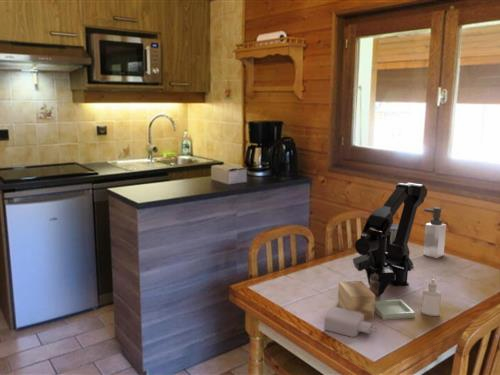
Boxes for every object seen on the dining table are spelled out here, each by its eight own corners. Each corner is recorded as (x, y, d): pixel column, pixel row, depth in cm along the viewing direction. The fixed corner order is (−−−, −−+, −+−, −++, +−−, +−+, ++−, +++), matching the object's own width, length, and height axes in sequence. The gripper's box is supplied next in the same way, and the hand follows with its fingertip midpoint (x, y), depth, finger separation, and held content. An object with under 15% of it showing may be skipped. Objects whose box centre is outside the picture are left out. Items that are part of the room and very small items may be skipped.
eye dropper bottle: (434, 318, 149) (437, 283, 146) (418, 312, 153) (421, 278, 151) (441, 314, 151) (444, 280, 149) (426, 308, 156) (428, 275, 153)
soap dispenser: (425, 250, 215) (428, 204, 211) (443, 255, 209) (447, 208, 205) (418, 253, 211) (422, 206, 207) (436, 258, 205) (441, 210, 200)
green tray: (400, 304, 159) (400, 299, 159) (414, 317, 149) (415, 312, 149) (370, 305, 158) (370, 301, 157) (382, 319, 148) (382, 314, 148)
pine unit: (359, 301, 161) (360, 280, 159) (373, 318, 148) (375, 295, 147) (337, 303, 159) (338, 281, 158) (350, 320, 147) (351, 296, 146)
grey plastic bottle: (372, 344, 133) (324, 331, 141) (381, 330, 141) (334, 318, 149) (373, 329, 132) (324, 316, 140) (382, 316, 140) (335, 305, 148)
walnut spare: (377, 291, 169) (379, 273, 168) (382, 296, 165) (383, 277, 164) (367, 292, 169) (368, 274, 167) (371, 296, 165) (372, 278, 163)
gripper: (346, 241, 172) (345, 280, 175) (366, 258, 154) (363, 302, 157) (375, 240, 173) (372, 279, 176) (397, 257, 155) (394, 300, 158)
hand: (375, 289), depth 167 cm, fingers open, 8 cm apart
